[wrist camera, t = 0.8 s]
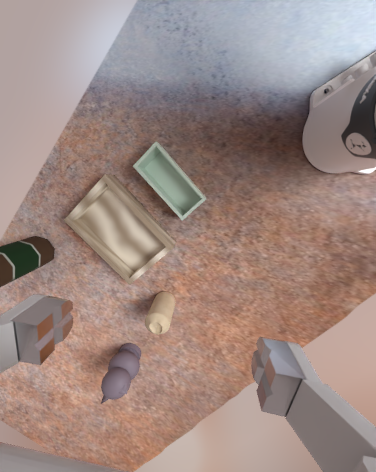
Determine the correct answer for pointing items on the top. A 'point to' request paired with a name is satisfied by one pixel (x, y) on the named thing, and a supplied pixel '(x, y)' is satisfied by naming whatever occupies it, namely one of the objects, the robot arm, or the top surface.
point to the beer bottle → (23, 257)
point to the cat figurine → (121, 372)
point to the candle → (160, 313)
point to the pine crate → (120, 229)
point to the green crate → (169, 181)
